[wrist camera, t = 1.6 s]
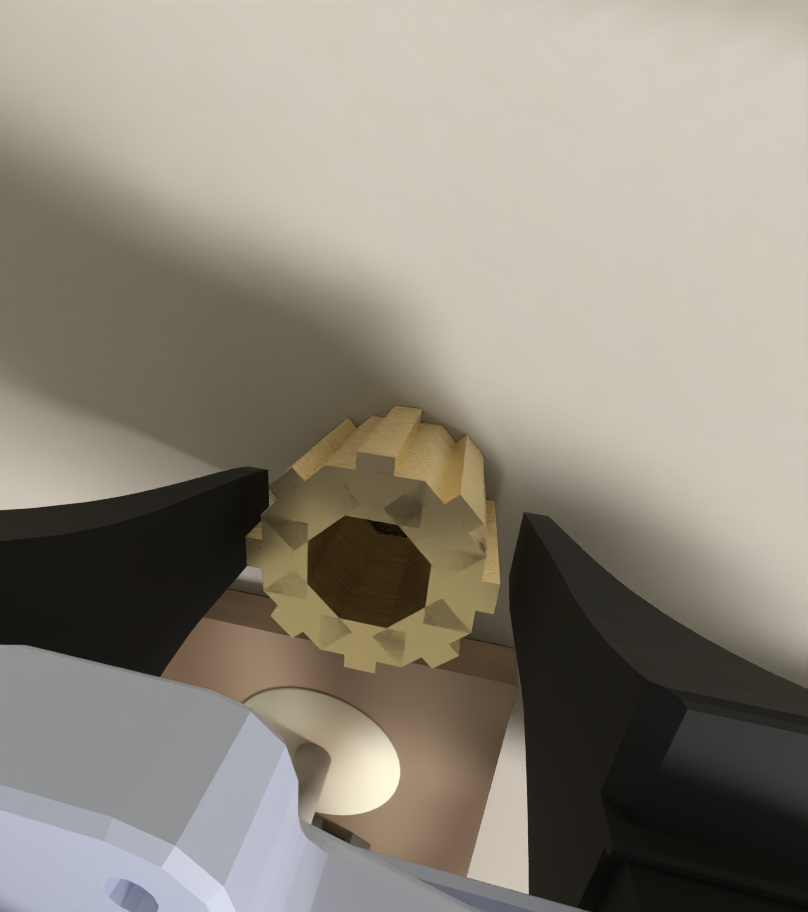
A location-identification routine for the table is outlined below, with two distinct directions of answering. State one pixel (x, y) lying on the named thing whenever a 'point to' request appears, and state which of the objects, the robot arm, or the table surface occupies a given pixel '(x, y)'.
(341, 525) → the wooden gear
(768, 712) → the robot arm
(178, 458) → the table surface
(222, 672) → the gear board
